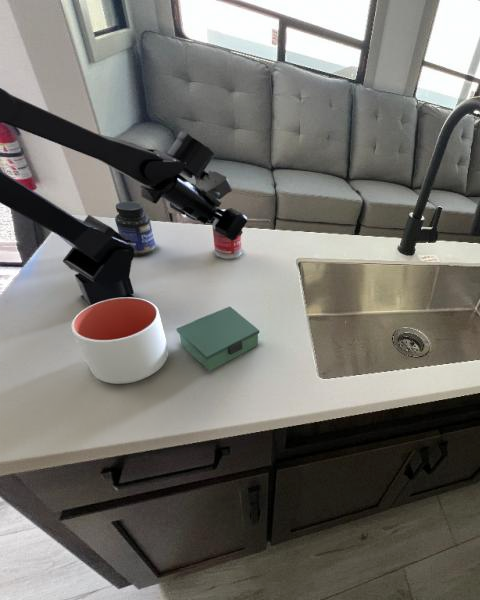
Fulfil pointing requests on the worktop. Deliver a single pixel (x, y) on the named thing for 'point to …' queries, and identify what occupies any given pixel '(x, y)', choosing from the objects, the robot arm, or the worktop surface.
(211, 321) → the lunchbox
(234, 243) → the pill bottle
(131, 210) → the pill bottle
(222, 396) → the worktop surface
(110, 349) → the cup
